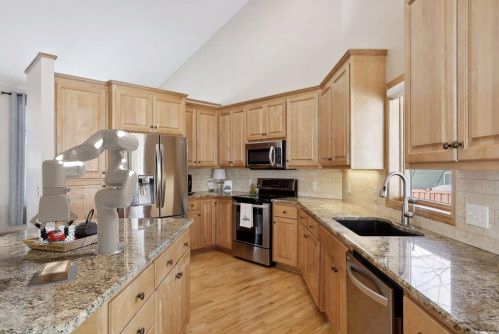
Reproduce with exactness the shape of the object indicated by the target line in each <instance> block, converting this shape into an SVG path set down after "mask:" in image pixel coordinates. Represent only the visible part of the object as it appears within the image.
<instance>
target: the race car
mask: <svg viewBox="0 0 499 334" xmlns="http://www.w3.org/2000/svg"><path fill="white" fill-rule="evenodd" d="M45 241H47V242H48V244H52V243H57V242H65V241H66V238H65V235H64V231H63V230H61V229H53V230H49V231H48V232H46V240H45Z"/></svg>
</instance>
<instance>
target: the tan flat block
mask: <svg viewBox="0 0 499 334" xmlns="http://www.w3.org/2000/svg"><path fill="white" fill-rule="evenodd" d="M71 266H72V260H71V259H69V260H68V259H67V260H62V261H53V262H47V263H44V264H43V265H42V267H41V268H40V270H41V271H40V270H39V271H40V273H39V274H38V276H37V278H38V285H39V284H44V283H50V282H56V281H62V280H68V277H69V273H70V269H71Z"/></svg>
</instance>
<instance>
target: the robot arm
mask: <svg viewBox="0 0 499 334" xmlns="http://www.w3.org/2000/svg"><path fill="white" fill-rule="evenodd" d="M139 141H140V140H139V139H138V137H137V136H136V135H135V134H132V133H129V132H127V131H125V130H122V129H118V128H111V129H110V128H109V129H108V128H106V129H105V128H104V129H99V130H97V131H95V133H93V134H92V135H91V136H90V137H88V139H86V140H84V141H83V142H82V143H81V144H78V145H75V146H73V147H72V148H68V149H66V150H64V151H62V152H60V153H59V154H58V155H56V156H55V157H54V158H53V159H45V160H43V161H42V163H41V177H42V178H41V185H42V187H41V188H42V190H41V192H42V195H41V196H40V197H39V201H38V211H37V212H38V213H37V214H36V215H34V216H33V217H32V218H31V219H30V220H29V223H30V224H31V225H33V226H35V227H36V229H38V230H39V231H40V239H42V241H43V242H45V241H47V240H46V233H47V228H46V225H47V224H49V223H57V222H62V223H63V225H64V228H63V234H64V235H65V239H67V237H68V236H69V234H70V233H69V232H70V231H69V230H70V228H69V227H70V226H71V225H72V224H74V223H75V222H76V221H77V219H79V216H78V215H77V214H76V213H74V212H73V210H71V201H70V200H71V199H70V196H69V194H68V193H70V192H71V188H68V187H67V179H77V178H81V177H83V176H84V175H85V174H86V172H87V165H86V164H85V162H89V161H92V160H95V159H97V158H99V156H101V155H102V154H103V153H104V152H105V151H106V150H107V153H108V155H109V162H108V163H109V164H108V167H107V170H106V173H105V174H104V175H105V176H104V180H103V181H104V185H105V186H107V188H100V189H99V190H97V191H96V192H95V194H94V205H95V208H96V209H95V210H96V230H97V231H96V232H97V233H96V234H97V235H96V236H97V237H96V238H97V240H96V241H97V243H96V244H97V249H96V250H95V251H93V255H96V256H109V255H111V256H114V255H115V256H116V255H118V254H121V253H122V252H123V248H129V247H130V242H127V243H126V242H122V243H121V242H120V235H119V234H120V232H119V231H120V229H119V227H120V226H119V225H120V223H119V222H120V221H119V219H120V217H119V213H118V211H117V209H127V208H128V207H130V206H131V204H132V203H133V199H134V196H135V192H136V188H137V184H138V181H139V180H138V173H137V172H136V171H135V170H134V169H131V168H127V167H128V160H127V158H126V156H125V155H124V153H123V152H125V153H126V152H127V153H128V152H135V151H137V150H138V149H139V146H140V142H139ZM71 217H72V219H71ZM37 220H38V221H37ZM69 220H70V221H69Z"/></svg>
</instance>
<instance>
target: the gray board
mask: <svg viewBox="0 0 499 334" xmlns="http://www.w3.org/2000/svg"><path fill="white" fill-rule="evenodd" d="M78 268H79V264H73V265H71V269H70V273H69V277H68V280H62V281H56V282H50V283H44V284H39V285H38V278H37V276H38V274H39V273H40V271H41V269H40V270H37V272H36V273H35V274H34V277H33V278H32V280H31V281H30V283H29V285H28V287H27V289H33V288H37V287H44V286H50V285H55V284H62V283H67V282H73V281H76V279H77V272H78Z"/></svg>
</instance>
